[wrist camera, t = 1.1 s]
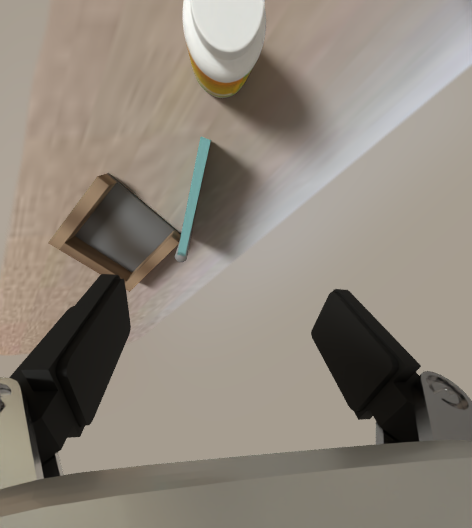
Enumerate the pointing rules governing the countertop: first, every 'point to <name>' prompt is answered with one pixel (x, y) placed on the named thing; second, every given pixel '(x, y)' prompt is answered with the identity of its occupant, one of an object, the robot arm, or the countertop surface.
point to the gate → (192, 200)
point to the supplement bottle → (223, 41)
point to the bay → (115, 232)
